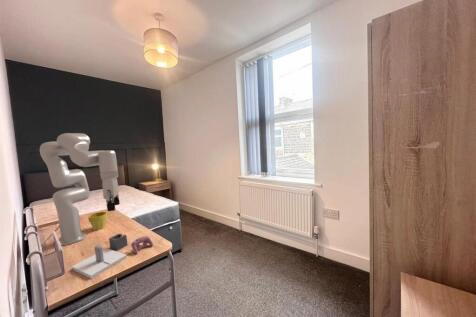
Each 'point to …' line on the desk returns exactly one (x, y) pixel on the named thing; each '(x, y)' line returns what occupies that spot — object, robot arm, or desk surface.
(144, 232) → the desk surface
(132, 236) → the desk surface
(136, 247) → the video game controller
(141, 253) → the desk surface
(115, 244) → the grey u-shaped bracket
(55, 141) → the robot arm
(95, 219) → the plant pot
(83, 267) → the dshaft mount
